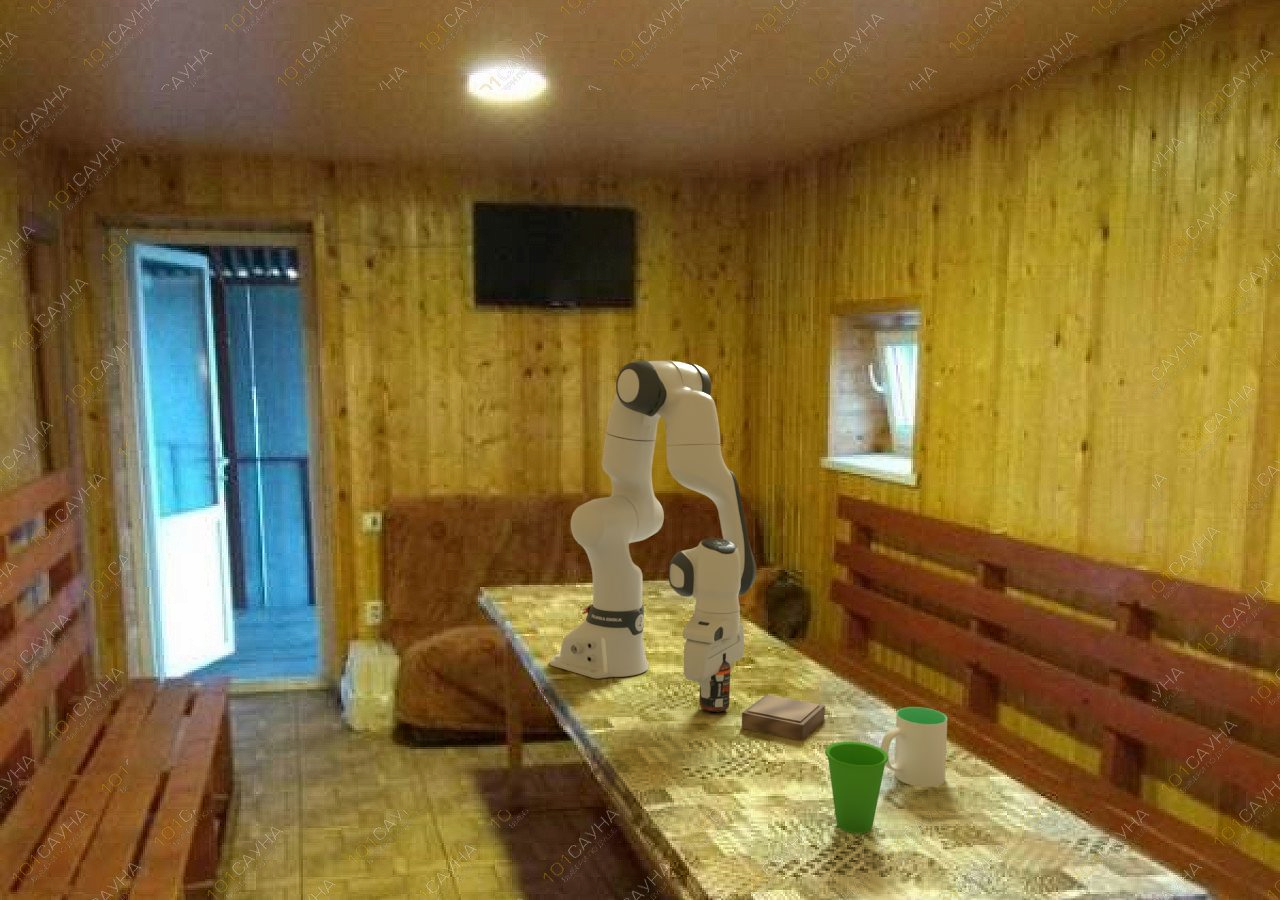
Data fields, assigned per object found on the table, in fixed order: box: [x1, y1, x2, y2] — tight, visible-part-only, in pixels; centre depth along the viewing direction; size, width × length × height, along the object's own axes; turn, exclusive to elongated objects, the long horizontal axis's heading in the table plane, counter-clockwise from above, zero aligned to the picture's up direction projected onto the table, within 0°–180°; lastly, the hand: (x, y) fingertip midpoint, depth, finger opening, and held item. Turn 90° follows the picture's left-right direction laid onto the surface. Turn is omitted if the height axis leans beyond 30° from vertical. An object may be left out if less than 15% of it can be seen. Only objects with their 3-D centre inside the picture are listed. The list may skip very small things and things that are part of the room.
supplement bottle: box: [698, 653, 731, 713], centre depth 187 cm, size 6×6×11 cm
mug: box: [880, 706, 948, 788], centre depth 156 cm, size 12×8×10 cm, turn 120°
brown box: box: [741, 694, 826, 742], centre depth 181 cm, size 12×12×3 cm
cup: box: [824, 741, 889, 834], centre depth 140 cm, size 9×9×11 cm
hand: (714, 691), depth 187 cm, fingers closed on supplement bottle, 6 cm apart
